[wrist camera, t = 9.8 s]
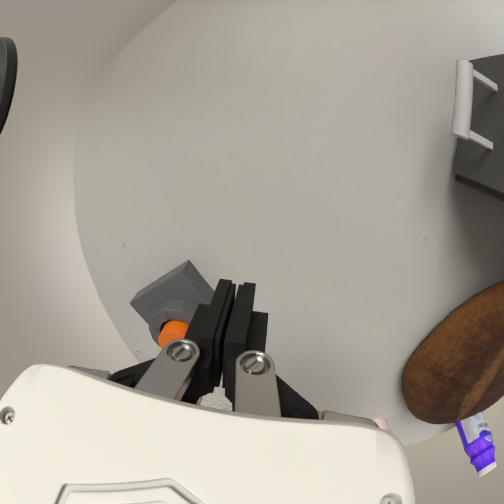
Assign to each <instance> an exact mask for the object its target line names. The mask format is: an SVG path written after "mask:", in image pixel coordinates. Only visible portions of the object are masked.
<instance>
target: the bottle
mask: <svg viewBox="0 0 504 504" xmlns="http://www.w3.org/2000/svg"><path fill="white" fill-rule="evenodd" d="M455 424H456V426H457V429H458V432H459V435H460V438H461V440H462V443H463V446H464V450H465V452H466V454H467V455H468V456H469V457H470V458H471V461H470V463H471V464H472V465H474V466H475V468H476V470H477V473H478V477H481V476H482V475H484V474H486V473H488V472H489V471H491V470H492V469H494V468H495V467H496V466H497V465H496V462H495V458H494V451H495V447H494V446H493V445H492V443H493V442H492V441H493V439H492V438H493V437H492V434H491V432H490V429H489V426H488V424H487V421H486V419H485V417H484V414H483V412H480V413H478V414H476V415H474V416H472V417H469V418H466V419H464V420H461V421H458V422H455Z"/></svg>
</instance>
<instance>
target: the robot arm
mask: <svg viewBox="0 0 504 504" xmlns="http://www.w3.org/2000/svg"><path fill="white" fill-rule="evenodd" d="M255 286H256V284H254V283H247V282H244V285H239V287H238V291H237V294H236V298H235V290H236V284H232V280H225V279H220V280H219V282H218V285H217V287H216V290H215V292H214V295H213V297H212V300H211V303H210V305H208V304H202V303H199V305H198V306H197V309H196V311H195V313H194V315H193V318H192V320H191V322H190V325H189V327H188V329H187V331H186V334H185V336H184V338H183V339H175V340H172V341H170V342H168V343H167V344H166V345H165V346H164V348H163V349H162V350H161V352H160V353H159V354H158V356H157V357H156V358H154V359H151V360H149V361H146V362H143V363H140V364H137V365H135V366H132V367H129V368H126V369H123V370H120V371H118V372H115V373H114V374H110V373H109V371H101V370H95V369H88V368H82V367H76V366H63V365H57V364H36V365H33V366H31V367H29V368H28V369H26V370H25V371H24V372H23V373H22V374H21V375H20V376H19V377H18V378H17V379H16V380H15V381H14V383H13V384H12V385H11V386H10V388H9V389H8V391H7V392H6V393H5V395H4V396H3V398H2V399H1V400H0V504H416V501H415V492H414V485H413V480H412V474H411V470H410V466H409V462H408V458H407V455H406V453H405V450H404V448H403V446H402V444H401V442H400V441H399V440H398V438H397V437H396V436H394V435H393V434H392V433H390V432H388V431H386V430H383V429H381V428H379V426H378V425H377V423H376V422H374V421H373V420H371V419H368V418H362V417H356V416H351V415H345V414H340V413H335V412H330V411H326V410H325V411H324V412H319V411H317V410H316V409H315V408H314V407H313V406H312V405H311V404H310V403H309V402H308V401H306V400H305V399H304V398H303V397H302V396H300V395H299V394H298V393H297V392H296V391H294V390H293V389H292V388H291V387H290V386H289V385H287V384H286V383H285V382H284V381H283V380H282V379H281V378H279V377H278V376H277V375H276V374H275V367H274V362H273V360H272V358H271V357H270V356H269V355H267V354H266V353H265V345H266V334H267V323H268V313H263V312H255V311H253V303H254V295H255ZM222 372H223V384H222V388H225V396H226V397H227V398H228V399H229V401H230V402H231V403H232V411H227V410H221V409H215V408H210V407H205V406H200V403H201V401H202V396H204V395H206V394H208V393H213V390H214V386H215V387H219V385H220V381H221V377H222Z"/></svg>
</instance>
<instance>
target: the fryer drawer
mask: <svg viewBox="0 0 504 504" xmlns="http://www.w3.org/2000/svg"><path fill="white" fill-rule="evenodd" d="M451 134H452V135H454V136H456V137H459V141H458V148H457V154H456V159H455V165H454V170H453V173H455V174H457V175H460V176H462V177H465V178H467V179H470V180H472V181H475V182H477V183H480V184H482V185H484V186H487V187H489V188H491V189H493V190H496V191H498V192H500V193H502V194H504V54H501V55H495V56H489V57H484V58H479V59H475V60H470V61H466V60H462V59H458V60H456V89H455V103H454V114H453V123H452V131H451Z"/></svg>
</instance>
